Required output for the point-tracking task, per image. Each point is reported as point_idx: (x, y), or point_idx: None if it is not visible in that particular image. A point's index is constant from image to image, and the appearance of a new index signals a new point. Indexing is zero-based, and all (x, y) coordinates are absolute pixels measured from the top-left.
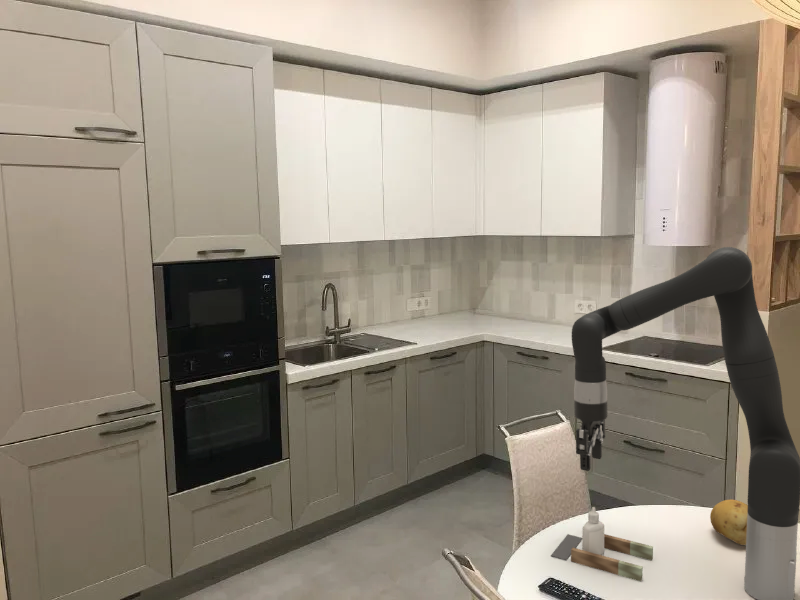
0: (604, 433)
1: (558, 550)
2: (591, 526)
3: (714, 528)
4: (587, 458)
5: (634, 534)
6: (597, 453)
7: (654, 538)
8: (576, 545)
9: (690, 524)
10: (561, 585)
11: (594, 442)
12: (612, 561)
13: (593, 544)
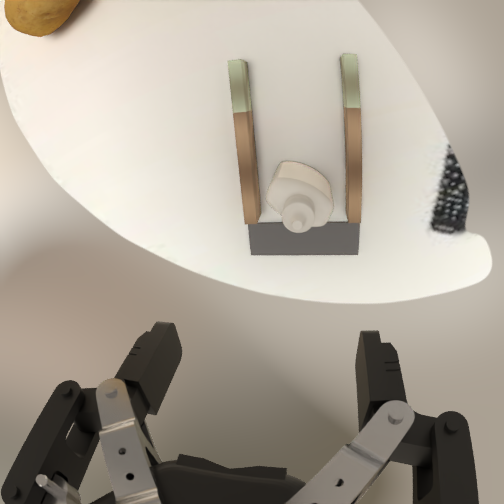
0: (57, 405)
1: (331, 248)
2: (322, 205)
3: (67, 17)
4: (392, 392)
5: (156, 136)
6: (166, 353)
7: (146, 95)
8: None
9: (59, 72)
10: (448, 200)
11: (335, 471)
12: (360, 122)
13: (323, 183)
